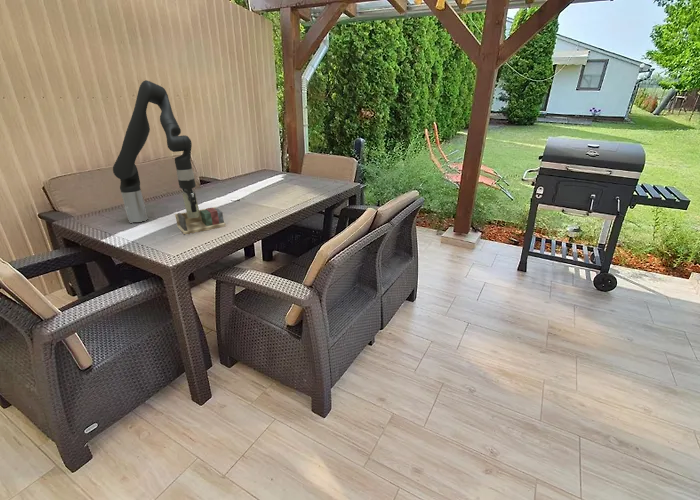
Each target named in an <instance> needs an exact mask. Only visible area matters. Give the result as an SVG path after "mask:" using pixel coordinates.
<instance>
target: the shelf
mask: <svg viewBox="0 0 700 500" xmlns="http://www.w3.org/2000/svg"><path fill="white" fill-rule="evenodd" d="M199 213H200V216H199V217H198V218H188V216H187V212H186V211H185V212H178V213H175V214H174V217H175V221H176V224H177V225H176V226H177V229H178V228H179V229H180V230H181V231H182V232H183V233H182V232H181V231H180V230H179V229H178V230H179V231H180V232H181V233H182V234H183V235H184V234H188V235H191V234H190V233H192V234H196V233H195V232H197V233H201V232H200V231H202V232H205V231H209V230H211V231H212V230H215V228H216V229H219V228H224V227H226V226H227V225H226V223H225V221H224V215H223V211H222V210H220V209H219V208H217V207H216V206H214V207H208V208H202V209H199Z"/></svg>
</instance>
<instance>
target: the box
mask: <svg viewBox="0 0 700 500" xmlns="http://www.w3.org/2000/svg"><path fill="white" fill-rule="evenodd" d="M194 193H195V196H196V191H194ZM196 197H197V196H196ZM182 198H183V203H184V207H185V212H187V216H188V218H198V217H199V216H200V213H199V210H200V208H199V204H198V200H197V198H196V202H197V204H196V210H197V211H196V212H192V210H191V205H190V202H189V201H188V199H187V196H186V194H185V193H183V192H182ZM189 199H190V198H189ZM192 202H194V201H192Z"/></svg>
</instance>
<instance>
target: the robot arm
mask: <svg viewBox="0 0 700 500" xmlns="http://www.w3.org/2000/svg"><path fill="white" fill-rule="evenodd" d="M149 103H152V104H153V105H157V107H158V108H159V109H160V111H161V113H160V116H159V122H160V124H161V127H162V129H163V131H164V133H165V136H166V137H165V138H166V146H167V149H169V150H170V151H171V152H174V153H176V152H177V153H178V152H182V154H181V155H178V156H175V157H174V164H175V168H176V176H177V180H178V185H179V188H180V189H181V190H182V194H183V193H185V194H186V196H187V199H188V201H189V202H190V205H191V210H192V212H196V211H197V210H196V204H197V203H198V201H197V202H196V199H197V196H195V194H196V192H195V191H194V190H193V188H196V187H197V185H196V181H195V175H194V174H195V173H194V170H193V167H192V161H191V156H192V155H191V154H192V153H191V152H192V140H191V138H190V136H188V135H181V132H182V130H181V127H180V125H179V123H178V121H177V119H176V117H175V115H174V112H173V110H172V106H171V102H170V98H169V96H168V92H167V90H166V88H164V87H163V86H161V85H159V84H156V83H154V82H152V81H150V80H147V79H146V80H142V82H141V83H140V86H139V88H138V92H137V95H136V101H135V104H134V109H133V110H132V115H131V117H130V120H129V123H128V125H127V128H126V131H125V134H124V138H123V142H122V145H121V148H120V151H119V154H118V156H117V158H116V160H115V162H114V163H113V166H112V172H113V174H114V176H115V177H116V178H118V179H119V180H120V183H119V184H120V185H119V189H120V193H121V197H122V200H123V206H124V210H125V212H126V213H125V214H126V217H127V221H128V220H129V221H128V222H130V223H132V222H142V221H145V222H147V221H148V220H149V217H148V214H147V209H146V206H145V201H144V197H143V193H142V190H141V189H142V188H141V180H140V174H139V170H138V168H137V165H136V160H137V158H138V156H139V154H140V152H141V151H142V149H143V148H144V146H145V144H146V142H147V140H148V138H149V135H150V131H151V129H150V123H149V119H148V115H147V111H148V110H147V109H148V106H149ZM194 192H195V193H194ZM189 198H190V199H189ZM192 201H194V202H192ZM147 219H148V220H147ZM146 220H147V221H146ZM130 223H129V224H130ZM142 223H143V222H142ZM132 224H133V223H132Z"/></svg>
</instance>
